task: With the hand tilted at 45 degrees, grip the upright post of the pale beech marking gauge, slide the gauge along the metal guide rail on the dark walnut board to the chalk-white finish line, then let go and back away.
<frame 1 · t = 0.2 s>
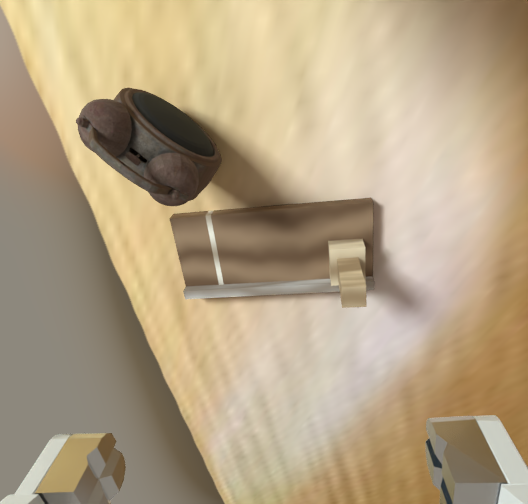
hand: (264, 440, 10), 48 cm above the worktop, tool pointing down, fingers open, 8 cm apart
gauge: (345, 257, 58), point 2 cm above the worktop, touching walnut board
walnut board: (273, 248, 61), on the worktop
alarm clock: (182, 131, 54), on the worktop
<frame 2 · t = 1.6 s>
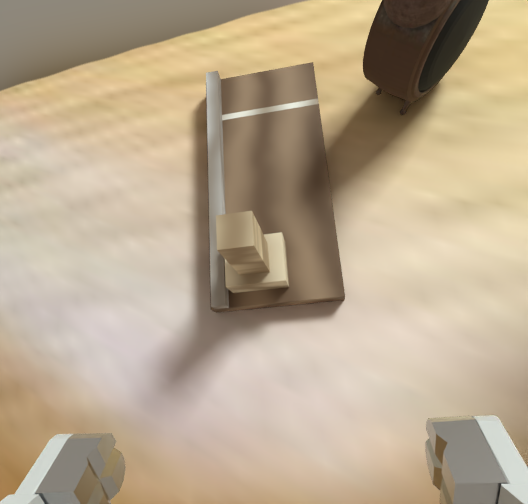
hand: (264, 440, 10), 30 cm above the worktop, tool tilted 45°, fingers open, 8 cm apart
gauge: (259, 267, 41), point 2 cm above the worktop, touching walnut board
walnut board: (269, 183, 46), on the worktop
alarm clock: (414, 83, 47), on the worktop
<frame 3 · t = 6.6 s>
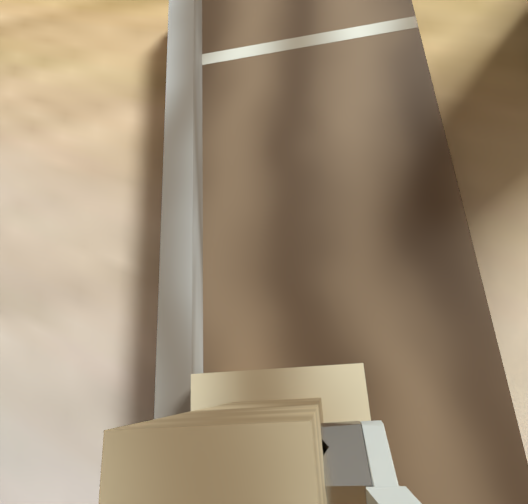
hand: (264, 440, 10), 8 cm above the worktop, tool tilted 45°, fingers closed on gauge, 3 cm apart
gauge: (288, 436, 15), point 2 cm above the worktop, touching gripper, walnut board
walnut board: (304, 204, 20), on the worktop
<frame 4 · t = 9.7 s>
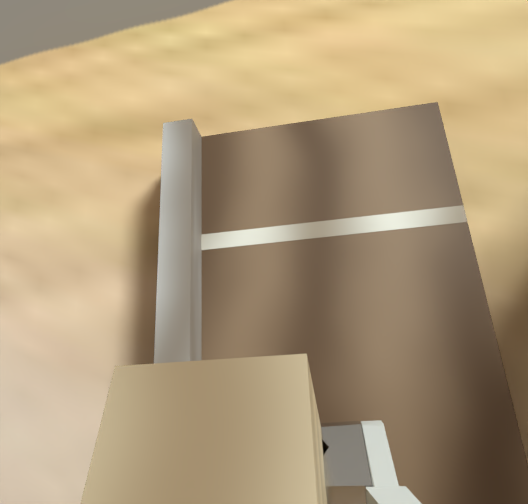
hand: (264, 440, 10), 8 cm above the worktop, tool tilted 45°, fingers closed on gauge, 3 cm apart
walnut board: (326, 439, 17), on the worktop
when the fingers open (8 cm above the worktop, at t = 12.8 s): gauge stays where it is, resting on walnut board.
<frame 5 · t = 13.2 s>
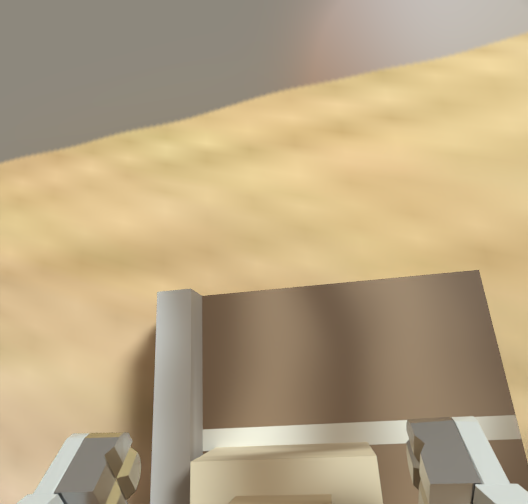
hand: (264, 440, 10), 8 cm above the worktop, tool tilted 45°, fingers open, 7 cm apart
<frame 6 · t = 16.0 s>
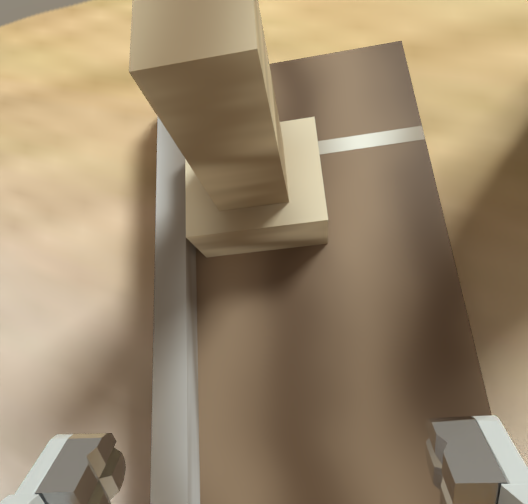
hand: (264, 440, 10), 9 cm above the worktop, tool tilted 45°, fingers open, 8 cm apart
gauge: (262, 204, 19), point 2 cm above the worktop, touching walnut board
walnut board: (305, 329, 19), on the worktop
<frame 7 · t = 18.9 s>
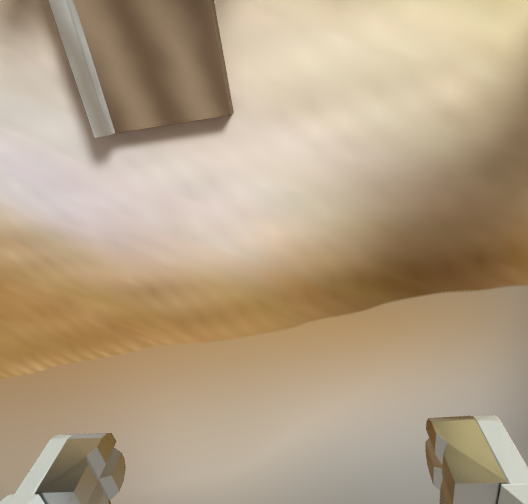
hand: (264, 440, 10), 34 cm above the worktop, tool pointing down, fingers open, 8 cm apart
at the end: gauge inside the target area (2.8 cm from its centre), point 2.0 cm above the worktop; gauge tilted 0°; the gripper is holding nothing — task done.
